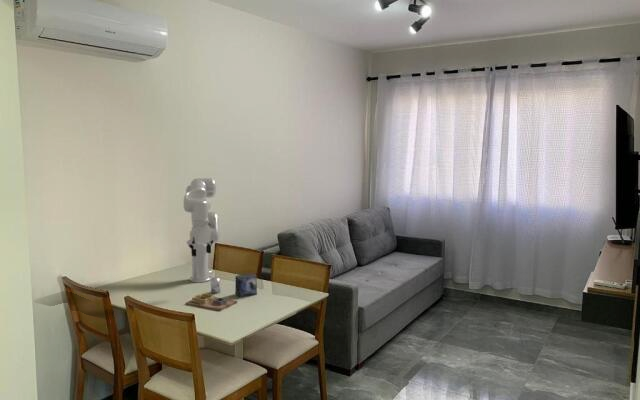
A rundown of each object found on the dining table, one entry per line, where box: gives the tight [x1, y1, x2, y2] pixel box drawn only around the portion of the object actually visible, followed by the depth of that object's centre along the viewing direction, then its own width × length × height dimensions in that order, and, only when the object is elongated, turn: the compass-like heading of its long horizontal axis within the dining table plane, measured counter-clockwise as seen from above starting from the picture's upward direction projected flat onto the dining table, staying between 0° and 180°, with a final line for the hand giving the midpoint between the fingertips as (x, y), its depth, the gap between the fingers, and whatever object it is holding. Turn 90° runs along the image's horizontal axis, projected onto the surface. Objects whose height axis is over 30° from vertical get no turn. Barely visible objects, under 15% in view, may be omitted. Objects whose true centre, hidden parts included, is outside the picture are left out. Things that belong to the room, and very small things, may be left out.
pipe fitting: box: [210, 276, 221, 295], centre depth 268 cm, size 5×5×8 cm
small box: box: [234, 273, 258, 298], centre depth 264 cm, size 11×6×10 cm, turn 117°
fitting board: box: [185, 292, 238, 312], centre depth 249 cm, size 14×22×3 cm, turn 64°
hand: (201, 254), depth 262 cm, fingers open, 9 cm apart
